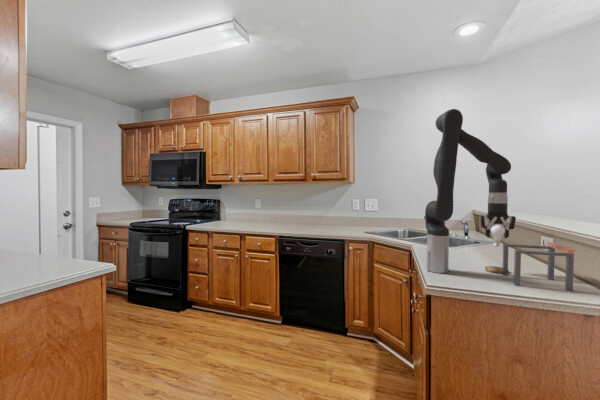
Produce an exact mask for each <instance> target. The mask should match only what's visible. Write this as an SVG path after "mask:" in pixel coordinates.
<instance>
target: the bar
mask: <svg viewBox="0 0 600 400" xmlns="http://www.w3.org/2000/svg"><path fill="white" fill-rule="evenodd" d="M547 246H550V247H552V248H555V250H557V251H560V252H562V253H569V254H574V255H575V252H576V251H575V249H574V248H571V247H568V246H565V245H562V244H559V243H557V242H552V241H548V242H547Z"/></svg>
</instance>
